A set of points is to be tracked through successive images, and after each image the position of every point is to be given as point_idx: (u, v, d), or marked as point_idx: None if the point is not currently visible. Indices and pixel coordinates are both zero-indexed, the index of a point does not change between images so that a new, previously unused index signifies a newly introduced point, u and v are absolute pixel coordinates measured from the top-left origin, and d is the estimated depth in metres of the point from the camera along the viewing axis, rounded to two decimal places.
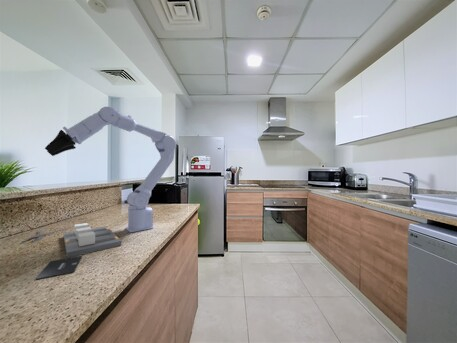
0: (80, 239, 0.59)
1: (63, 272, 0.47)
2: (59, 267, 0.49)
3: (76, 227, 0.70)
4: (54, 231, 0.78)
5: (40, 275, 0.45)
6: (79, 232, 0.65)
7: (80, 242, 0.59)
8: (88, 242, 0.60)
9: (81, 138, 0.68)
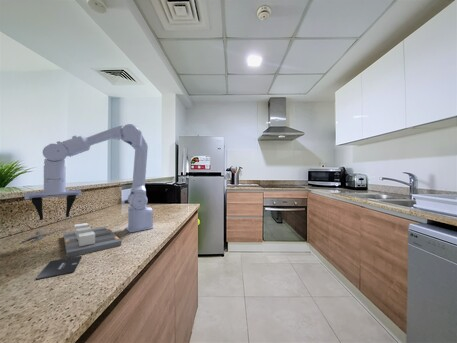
0: (80, 239, 0.59)
1: (63, 272, 0.47)
2: (59, 267, 0.49)
3: (76, 227, 0.70)
4: (54, 231, 0.78)
5: (40, 275, 0.45)
6: (79, 232, 0.65)
7: (80, 242, 0.59)
8: (88, 242, 0.60)
9: (47, 190, 0.64)
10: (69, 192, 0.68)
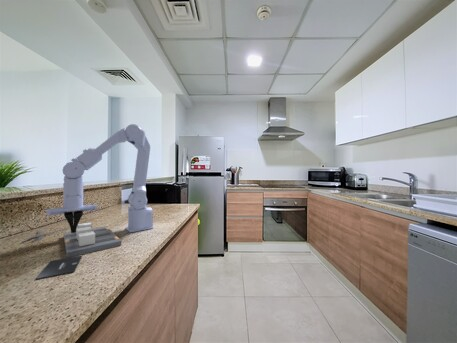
0: (80, 239, 0.59)
1: (63, 272, 0.47)
2: (59, 267, 0.49)
3: (79, 227, 0.70)
4: (54, 231, 0.78)
5: (40, 275, 0.45)
6: (79, 232, 0.65)
7: (80, 242, 0.59)
8: (88, 242, 0.60)
9: (66, 206, 0.68)
10: (87, 207, 0.72)
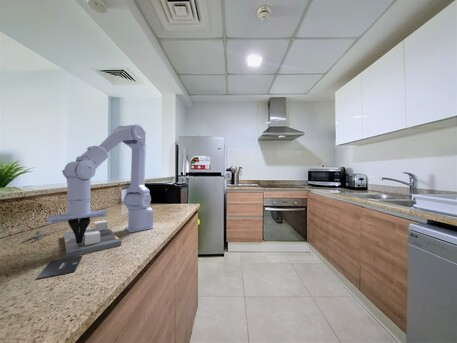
0: (86, 238, 0.60)
1: (64, 272, 0.47)
2: (60, 267, 0.49)
3: (96, 224, 0.74)
4: (54, 231, 0.78)
5: (41, 275, 0.45)
6: None
7: (86, 241, 0.60)
8: (93, 240, 0.61)
9: (71, 213, 0.57)
10: (94, 213, 0.62)
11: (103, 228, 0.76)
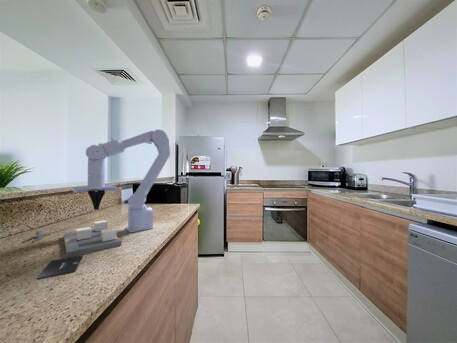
0: (103, 235, 0.63)
1: (64, 271, 0.47)
2: (60, 266, 0.49)
3: (96, 224, 0.74)
4: (54, 231, 0.78)
5: (41, 274, 0.45)
6: (79, 232, 0.65)
7: (103, 237, 0.63)
8: (110, 237, 0.65)
9: (91, 185, 0.75)
10: (108, 187, 0.79)
11: (103, 228, 0.76)
